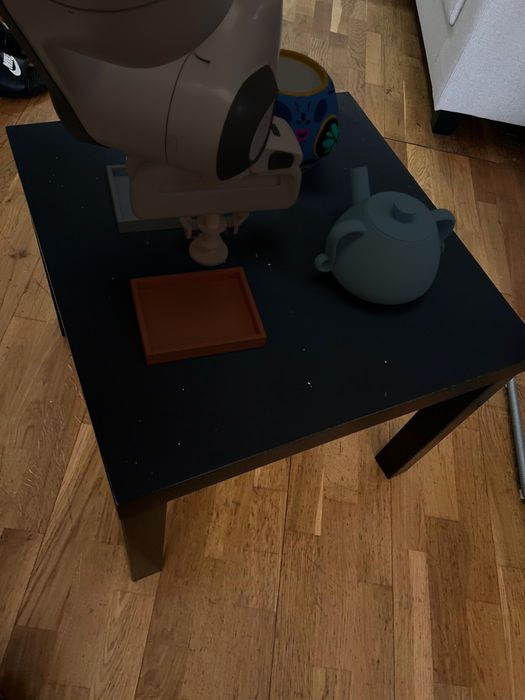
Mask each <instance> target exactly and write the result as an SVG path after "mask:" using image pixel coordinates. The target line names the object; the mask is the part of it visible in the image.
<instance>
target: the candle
mask: <svg viewBox="0 0 525 700" xmlns="http://www.w3.org/2000/svg"><path fill="white" fill-rule="evenodd" d="M224 217H225V216H224V215H223V216H221V215H220V214H212V215H200V216H199V217H198V218H197V225H198V227H199V231H201V232H199V233H198V235H199V236H198V238H193V240H191V242H190V244H189V247H188V252H189V256H190V257H191V259H192V260H193V261H194V262H195V263H196V264H198V265H201V266H204V267H216V266H220V265H221V264H223V263H224V262H225V261H226V260H227V258H228V255H229V250H228V249H229V248H228V246H227V244H226V243H225V242H224V241H223V239H222V237H221V235H220V234H222V233H223V232H225V231H224V230H225V229H226V227H227V221H226V220H225V218H224Z"/></svg>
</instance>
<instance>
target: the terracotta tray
mask: <svg viewBox="0 0 525 700" xmlns="http://www.w3.org/2000/svg"><path fill="white" fill-rule="evenodd" d="M245 274H246V273H245V271H244V268H243V266H236V267H226V268H220V269H218V268H217V269H209V270H200V271H191V272H182V273H173V274H165V275H163V274H162V275H157V276H156V275H155V276H154V275H153V276H146V277H145V276H144V277H135V278H130V292H131V297H132V301H133V306H134V311H135V315H136V320H137V326H138V329H139V333H140V334H139V335H140V338H141V345H142V348H143V353H144V358H145V363H146V366H148V365H156V364H161V363H168V362H174V361H180V360H186V359H192V358H199V357H206V356H213V355H218V354H226V353H232V352H237V351H238V352H239V351H245V350H251V349H256V348H263V347H265V344H266V340H267V333H266V330H265V327H264V325H263V322H262V319H261V317H260V313H259V310H258V308H257V305H256V302H255V300H254V297H253V294H252V291H251V288H250V285H249V283H248V280H247V276H246V275H245Z"/></svg>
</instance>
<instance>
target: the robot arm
mask: <svg viewBox="0 0 525 700" xmlns="http://www.w3.org/2000/svg"><path fill="white" fill-rule="evenodd" d="M0 18H1V20H2V22H3V23H4V24H5V26H6V28H7V29H8V31H9V32H10V33H11V35H12V36H13V38H14V40H15V41H16V43H17V44H18V46H19V47H20V48H21V50H22V51H23V53H24V54H25V56H26V57H27V58H28V60H29V61H30V63H31V64H32V66H33V67H34V69H35V71H37V74H38V75H39V76H40V77H41V79H42V81H43V82H44V85H45V86H46V87H47V91H48V95H49V98H50V102H51V104H52V107H53V109H54V112H55V114H56V115H57V117H58V119H59V121H60V123H61V125H62V126H63V128H64V129H65V130H66V131H67V133H68V135H70V137H72V138H73V139H74V140H75V141H77V142H80V143H86V144H89V145H94V146H97V147H102V148H105V149H114V150H117V151H120V152H123V153H126V154H125V158H124V159H125V160H124V161H125V162H124V163H125V164H124V165H126V172H127V174H128V176H129V177H130V180H129V200H130V205H131V209H132V212H133V214H134V215H135V216H136V217H137V218H139V219H140V220H148V219H161V218H174V217H179V220H180V222H181V223H182V225H183V226H184V228H183V229H184V234H185V238H186V239H196V238H198V236H199V234H200V229H199V227H198V225H197V221H196V219H191V216H199V215H212V214H223V215H224V214H231V215H230V216H229V215H228V216H223V217H224V218H225V220H226V221H227V227H226V229H225V230H224V231H223V232H224V234H225V236H231V235H238V232H239V226H241V225H242V224H243V223H244V222H245V221H246V220H247V219H248V218H249V216H250V215H251V214H250V213H251V212H259V211H261V212H263V211H272V210H287V209H289V208H291V207H293V205H295V203H297V201H298V198H299V194H300V190H301V183H302V175H301V170H300V168H299V165H300V164H301V162H302V159H303V154H302V151H301V148H300V145H299V143H298V140H297V138H296V136H295V134H294V133H293V131H292V129H291V128H290V126H289V124H288V123H287V122H286V121H285V120H284V119H282V118H279V117H276V116H274V112H275V107H276V102H277V98H278V93H279V89H278V86H277V82H276V74H277V68H278V62H279V55H280V49H281V46H282V37H283V36H282V35H283V22H284V21H283V20H284V0H0Z"/></svg>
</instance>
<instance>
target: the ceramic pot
mask: <svg viewBox="0 0 525 700" xmlns="http://www.w3.org/2000/svg"><path fill="white" fill-rule="evenodd" d="M276 82H277V86H278V89H279V93H278V98H277V102H276V107H275V112H274V116H276V117H279V118H282V119H284V120H285V121H286V122H287V123H288V124H289V126H290V128H291V129H292V131H293V133H294V134H295V136H296V138H297V140H298V143H299V145H300V148H301V151H302V154H303V159H302V162H301V164H300V165H299V168H300V170H301V176H302V175H304V174H305V173H307V172H308V171H309V170H311V169H312V168H314V166H316V165H317V164H318V163H319V162H320V161H321V160H323V158H324V157H327V156H329V155H330V154H331V153H332V152H333V151H334V150H335V149H336V147H337V145H338V144H339V141H340V136H341V130H340V124H339V112H340V111H339V102H338V97H337V92H336V87H335V84H334V81H333V79H332V78H331V76H330V75H329V73H328V72H327V71H326V69H325V67H323V66H322V65H321V64H320V63H319V62H318V61H317V60H314V59H313V58H311V57H310V56H308V55H307V54H304V53H301V52H298V51H295V50H292V49H286V48H280V55H279V62H278V68H277V74H276Z"/></svg>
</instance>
